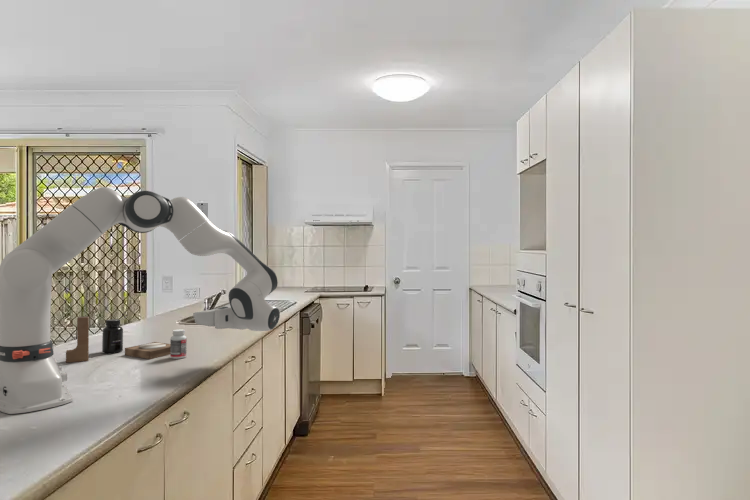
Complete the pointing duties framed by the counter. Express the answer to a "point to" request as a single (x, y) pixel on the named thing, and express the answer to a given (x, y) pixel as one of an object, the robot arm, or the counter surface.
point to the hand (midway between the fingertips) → (205, 313)
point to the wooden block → (80, 342)
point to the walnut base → (148, 350)
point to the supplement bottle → (112, 337)
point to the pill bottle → (178, 344)
